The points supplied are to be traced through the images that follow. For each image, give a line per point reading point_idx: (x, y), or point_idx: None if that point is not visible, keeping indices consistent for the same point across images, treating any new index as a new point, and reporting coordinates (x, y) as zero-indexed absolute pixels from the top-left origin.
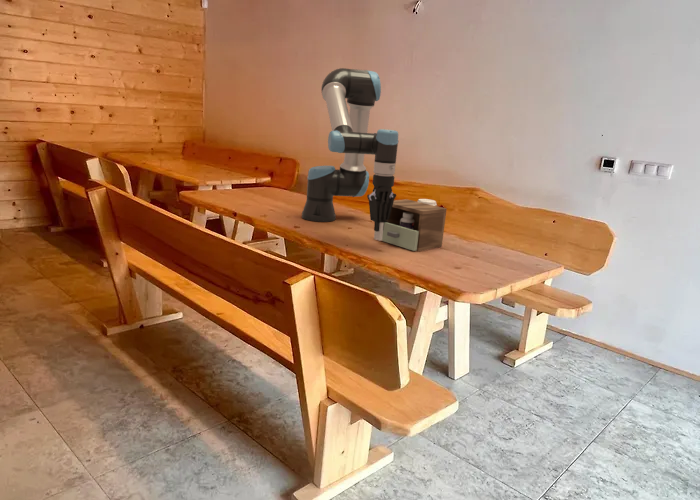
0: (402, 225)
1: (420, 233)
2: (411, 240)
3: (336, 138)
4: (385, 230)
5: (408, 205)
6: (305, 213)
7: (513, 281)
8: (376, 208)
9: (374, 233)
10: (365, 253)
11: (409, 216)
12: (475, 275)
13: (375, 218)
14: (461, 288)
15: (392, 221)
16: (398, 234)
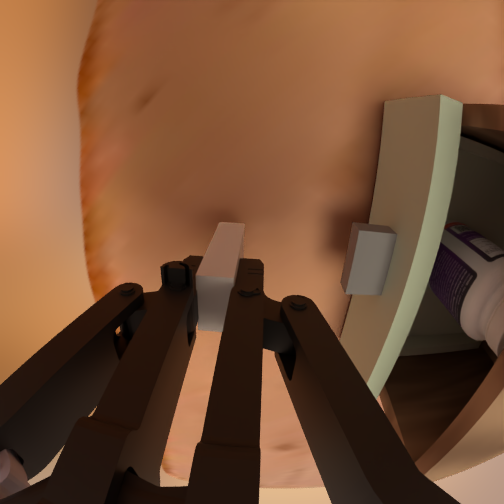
0: (453, 287)
1: (380, 396)
2: (353, 353)
3: None
4: (404, 178)
5: None
6: None
7: (293, 487)
8: (86, 413)
9: (213, 235)
10: (131, 247)
11: (491, 347)
12: (267, 468)
13: (120, 346)
14: (176, 469)
15: None
16: (372, 292)
